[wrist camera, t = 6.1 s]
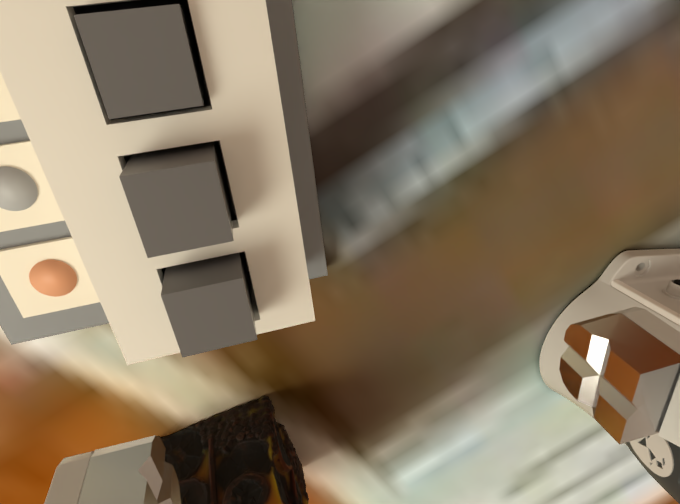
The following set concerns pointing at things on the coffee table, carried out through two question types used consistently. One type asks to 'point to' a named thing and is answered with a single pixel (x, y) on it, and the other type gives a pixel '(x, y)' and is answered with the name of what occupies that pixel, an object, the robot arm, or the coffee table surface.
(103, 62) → the switch
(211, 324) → the switch
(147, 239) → the switch
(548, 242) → the coffee table surface
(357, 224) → the coffee table surface
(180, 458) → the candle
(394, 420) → the coffee table surface
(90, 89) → the switch unit
